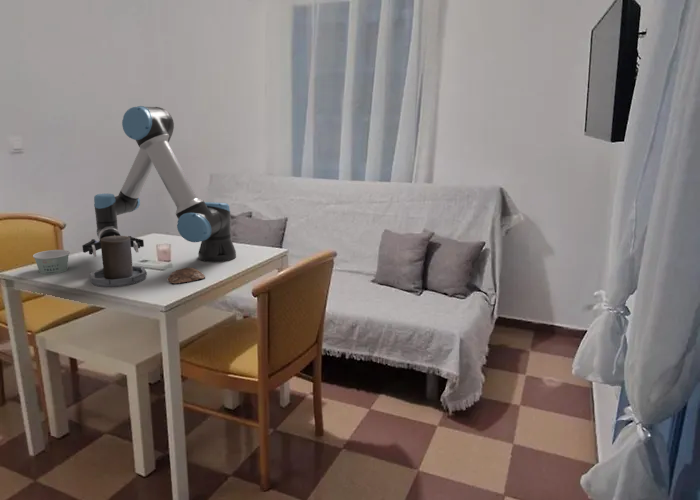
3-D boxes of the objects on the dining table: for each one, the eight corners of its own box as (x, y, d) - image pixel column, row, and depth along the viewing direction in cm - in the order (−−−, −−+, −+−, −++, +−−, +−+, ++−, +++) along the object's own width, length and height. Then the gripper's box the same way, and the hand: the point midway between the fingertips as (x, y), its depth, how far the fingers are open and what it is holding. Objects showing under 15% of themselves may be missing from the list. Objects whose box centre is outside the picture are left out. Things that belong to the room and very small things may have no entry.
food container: (35, 277, 185) (33, 259, 183) (34, 268, 195) (32, 252, 193) (73, 272, 191) (71, 255, 190) (70, 264, 201) (68, 248, 199)
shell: (162, 278, 187) (161, 268, 186) (196, 272, 195) (196, 263, 194) (172, 286, 178) (171, 276, 177) (208, 280, 185) (207, 270, 185)
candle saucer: (156, 274, 190) (156, 268, 190) (123, 289, 173) (122, 282, 173) (115, 269, 195) (115, 263, 194) (79, 283, 178) (78, 277, 178)
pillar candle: (101, 280, 178) (97, 238, 175) (107, 272, 187) (103, 232, 184) (131, 279, 181) (127, 237, 177) (135, 271, 190) (132, 231, 186)
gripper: (145, 244, 205) (154, 257, 187) (75, 251, 193) (77, 265, 175) (143, 225, 203) (153, 236, 185) (72, 231, 191) (74, 244, 173)
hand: (116, 250), depth 180 cm, fingers open, 13 cm apart
